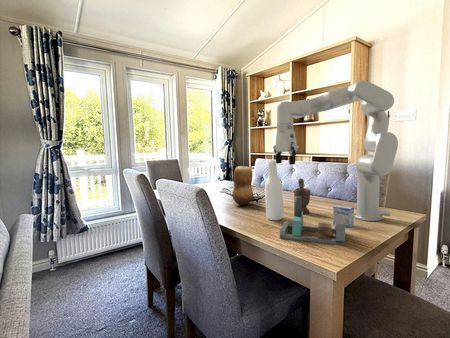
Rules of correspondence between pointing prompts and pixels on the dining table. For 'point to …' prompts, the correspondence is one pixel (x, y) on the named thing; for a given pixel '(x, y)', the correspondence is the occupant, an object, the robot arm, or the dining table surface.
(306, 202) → the brown bust statue
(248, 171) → the butternut squash
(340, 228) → the vise bed
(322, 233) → the walnut block
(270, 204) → the alcohol
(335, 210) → the medicine box
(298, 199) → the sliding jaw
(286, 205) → the dining table surface
